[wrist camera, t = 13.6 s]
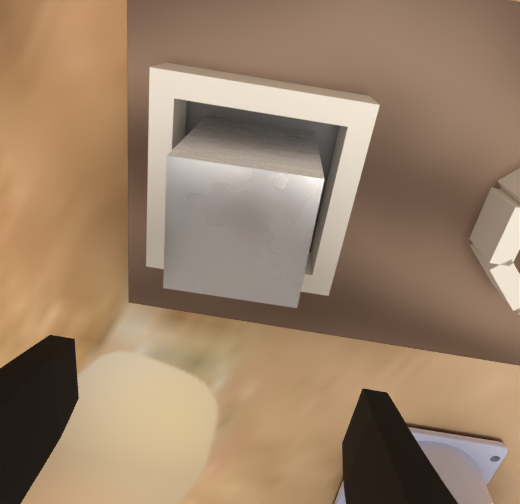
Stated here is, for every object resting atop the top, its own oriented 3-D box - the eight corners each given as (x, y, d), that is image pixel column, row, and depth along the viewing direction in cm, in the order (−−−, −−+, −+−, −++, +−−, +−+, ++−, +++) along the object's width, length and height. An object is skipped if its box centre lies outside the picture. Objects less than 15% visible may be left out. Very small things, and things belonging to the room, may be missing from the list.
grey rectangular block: (296, 229, 17) (296, 308, 12) (200, 215, 17) (163, 287, 12) (314, 131, 15) (324, 178, 11) (206, 115, 15) (166, 155, 11)
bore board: (577, 361, 21) (619, 410, 18) (135, 290, 21) (112, 329, 18) (786, 50, 14) (899, 55, 11) (137, -58, 14) (100, -77, 11)
